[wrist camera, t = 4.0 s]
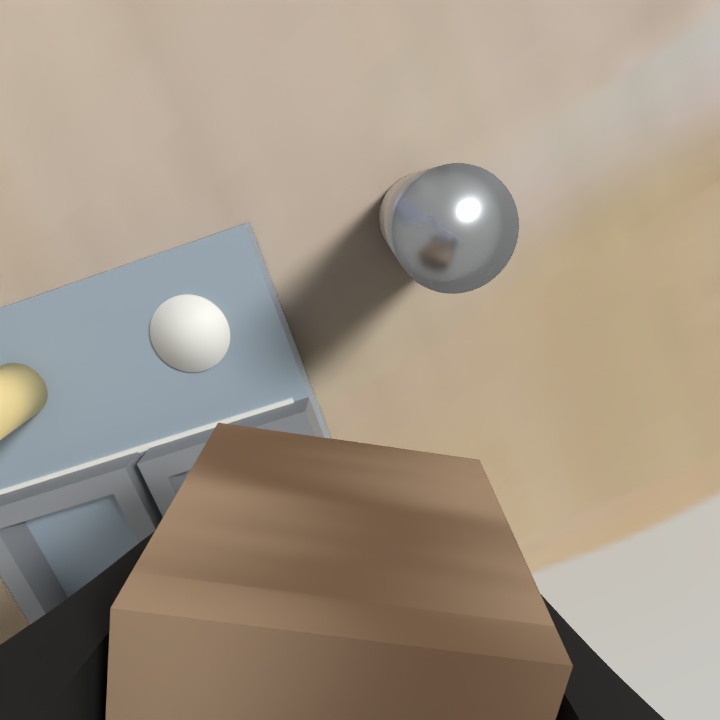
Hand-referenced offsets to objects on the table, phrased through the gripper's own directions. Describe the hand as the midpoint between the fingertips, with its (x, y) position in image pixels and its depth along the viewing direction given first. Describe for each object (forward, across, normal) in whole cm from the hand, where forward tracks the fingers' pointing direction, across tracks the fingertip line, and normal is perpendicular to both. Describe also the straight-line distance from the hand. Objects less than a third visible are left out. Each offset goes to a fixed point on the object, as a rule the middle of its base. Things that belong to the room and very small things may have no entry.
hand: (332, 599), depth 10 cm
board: (+10, +7, +2) cm, 12 cm away
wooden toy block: (+2, 0, 0) cm, 2 cm away
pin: (+10, -2, -6) cm, 12 cm away
